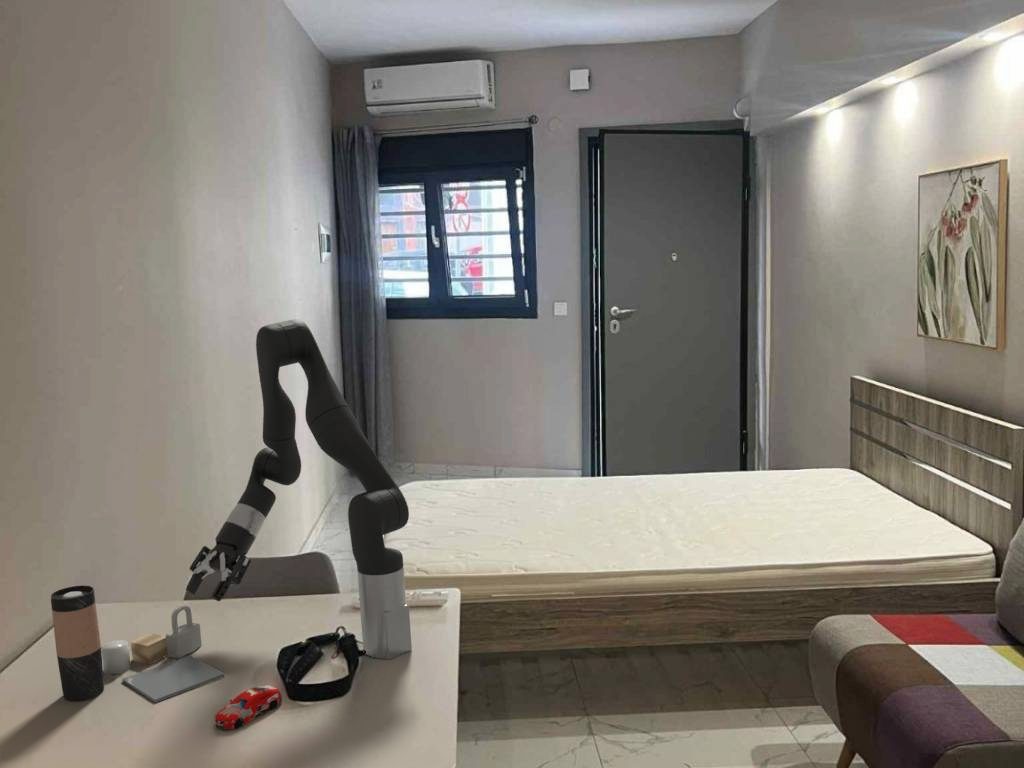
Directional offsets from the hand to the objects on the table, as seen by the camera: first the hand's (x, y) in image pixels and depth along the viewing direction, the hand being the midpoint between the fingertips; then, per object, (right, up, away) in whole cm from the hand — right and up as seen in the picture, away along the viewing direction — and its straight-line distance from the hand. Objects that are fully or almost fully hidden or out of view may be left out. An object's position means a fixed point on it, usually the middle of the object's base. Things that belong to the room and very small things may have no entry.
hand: (202, 595), depth 206 cm
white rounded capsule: (-14, -12, -10) cm, 21 cm away
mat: (0, -13, -17) cm, 21 cm away
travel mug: (-16, -14, -21) cm, 30 cm away
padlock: (-3, -11, -3) cm, 12 cm away
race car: (+19, -14, -33) cm, 40 cm away
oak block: (-9, -12, -5) cm, 16 cm away
